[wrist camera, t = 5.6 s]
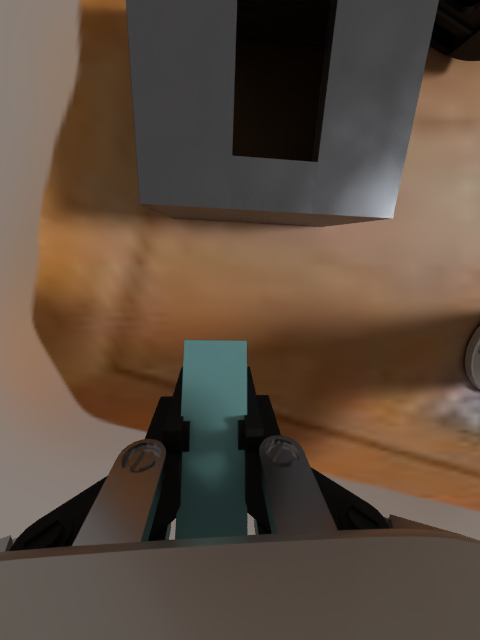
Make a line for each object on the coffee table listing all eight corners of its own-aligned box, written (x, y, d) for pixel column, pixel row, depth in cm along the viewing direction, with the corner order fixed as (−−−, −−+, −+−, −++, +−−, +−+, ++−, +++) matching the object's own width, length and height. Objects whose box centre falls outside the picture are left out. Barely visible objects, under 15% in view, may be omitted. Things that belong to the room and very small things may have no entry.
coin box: (350, 35, 20) (471, -155, 10) (323, 226, 24) (392, 218, 14) (166, 13, 18) (110, -227, 9) (173, 218, 23) (139, 203, 13)
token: (235, 353, 14) (247, 340, 8) (234, 471, 13) (247, 556, 7) (199, 352, 14) (184, 340, 8) (195, 472, 13) (174, 559, 7)
